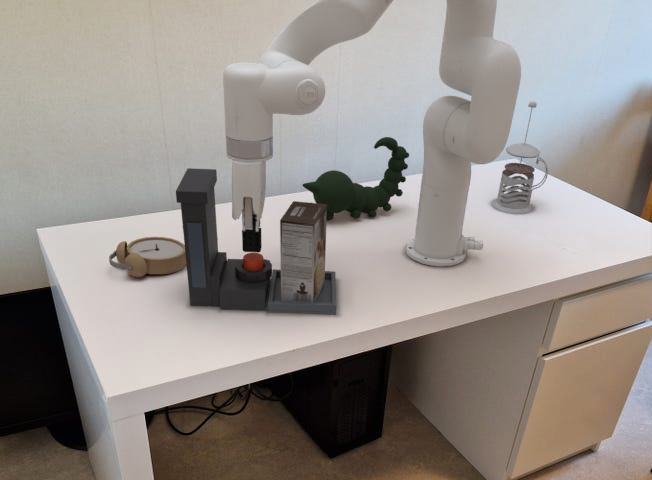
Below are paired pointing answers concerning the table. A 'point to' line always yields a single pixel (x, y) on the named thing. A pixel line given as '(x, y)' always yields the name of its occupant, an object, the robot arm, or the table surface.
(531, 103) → the french press
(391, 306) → the table surface
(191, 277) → the coffee machine tank
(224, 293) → the button base
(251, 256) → the brew button
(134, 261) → the alarm clock
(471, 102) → the robot arm
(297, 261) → the coffee box
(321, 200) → the toy figurine
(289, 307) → the pan
